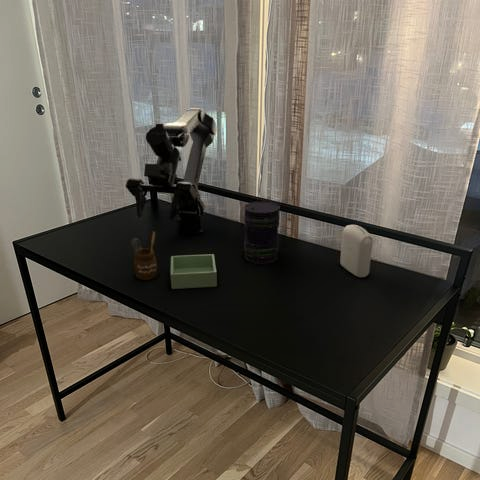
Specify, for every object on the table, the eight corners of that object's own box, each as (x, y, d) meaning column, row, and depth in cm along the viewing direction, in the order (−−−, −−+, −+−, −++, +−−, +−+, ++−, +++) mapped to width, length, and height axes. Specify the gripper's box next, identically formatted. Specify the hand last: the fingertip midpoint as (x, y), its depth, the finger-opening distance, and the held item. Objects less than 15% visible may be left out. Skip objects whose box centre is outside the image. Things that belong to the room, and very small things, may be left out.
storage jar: (269, 247, 154) (270, 199, 147) (284, 260, 147) (286, 209, 139) (238, 253, 151) (238, 204, 143) (252, 266, 143) (252, 214, 136)
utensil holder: (133, 273, 140) (128, 231, 134) (155, 269, 142) (151, 228, 136) (138, 282, 135) (133, 239, 129) (161, 278, 137) (157, 235, 131)
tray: (172, 269, 142) (170, 256, 140) (214, 267, 143) (213, 254, 141) (171, 288, 132) (170, 274, 130) (217, 286, 133) (216, 272, 131)
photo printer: (337, 264, 144) (341, 222, 138) (350, 261, 145) (355, 220, 139) (356, 279, 136) (362, 235, 129) (370, 276, 137) (376, 232, 131)
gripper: (124, 148, 136) (110, 201, 133) (190, 151, 132) (177, 206, 129) (139, 170, 147) (127, 220, 143) (201, 174, 143) (190, 225, 139)
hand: (154, 218), depth 138 cm, fingers open, 9 cm apart
